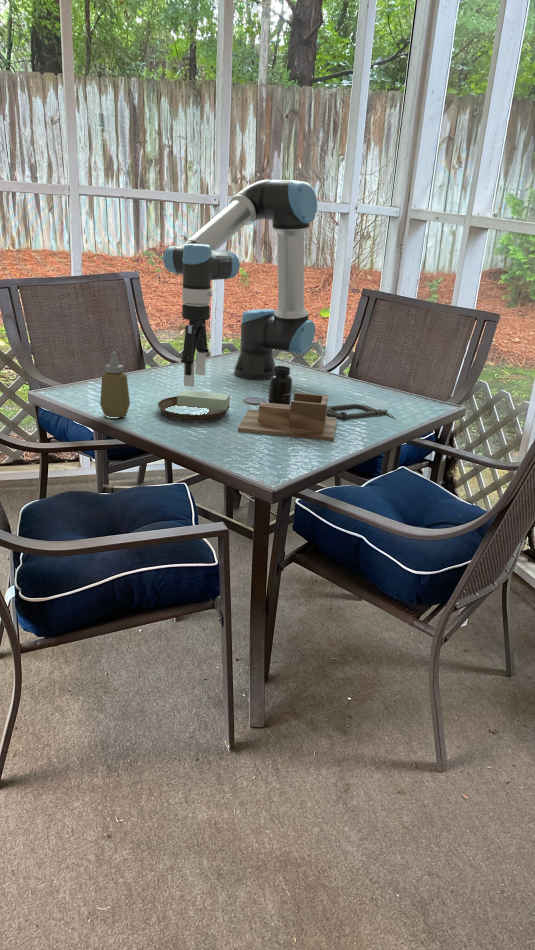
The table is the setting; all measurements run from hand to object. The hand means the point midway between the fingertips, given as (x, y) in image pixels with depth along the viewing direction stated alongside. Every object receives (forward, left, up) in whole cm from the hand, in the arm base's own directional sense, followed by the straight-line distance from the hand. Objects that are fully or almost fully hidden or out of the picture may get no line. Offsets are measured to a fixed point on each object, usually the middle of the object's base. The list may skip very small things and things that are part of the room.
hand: (194, 380), depth 189 cm
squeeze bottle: (+10, -20, -10) cm, 24 cm away
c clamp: (-15, +47, -10) cm, 50 cm away
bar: (0, +3, -7) cm, 8 cm away
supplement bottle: (-16, +23, -10) cm, 30 cm away
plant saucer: (0, 0, -10) cm, 10 cm away
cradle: (+3, +28, -10) cm, 30 cm away
